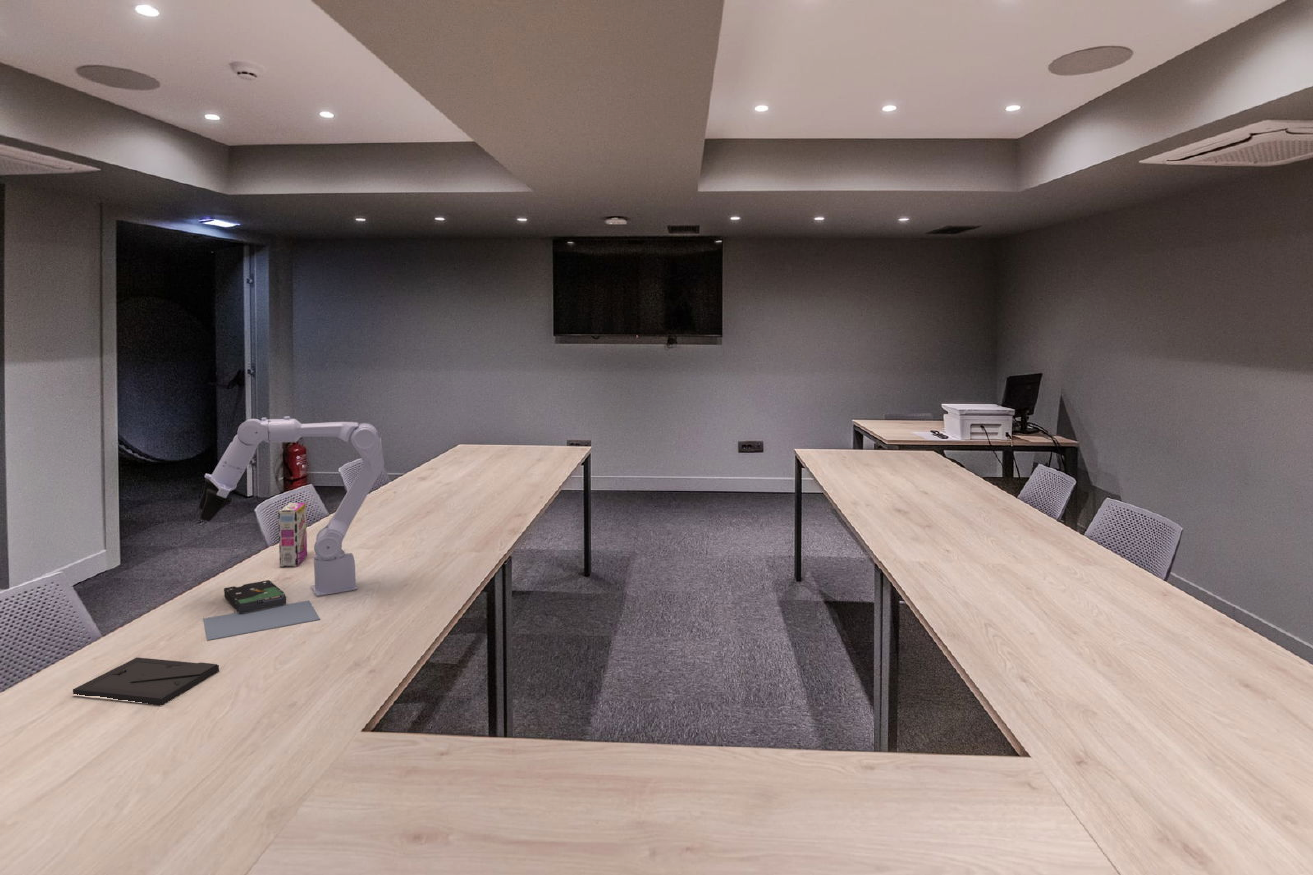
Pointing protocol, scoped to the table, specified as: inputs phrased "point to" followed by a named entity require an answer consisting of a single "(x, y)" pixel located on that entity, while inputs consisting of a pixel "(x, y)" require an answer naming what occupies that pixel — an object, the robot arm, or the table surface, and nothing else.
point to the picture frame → (148, 680)
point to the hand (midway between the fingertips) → (203, 514)
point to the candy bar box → (292, 534)
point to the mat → (259, 620)
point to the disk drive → (254, 596)
